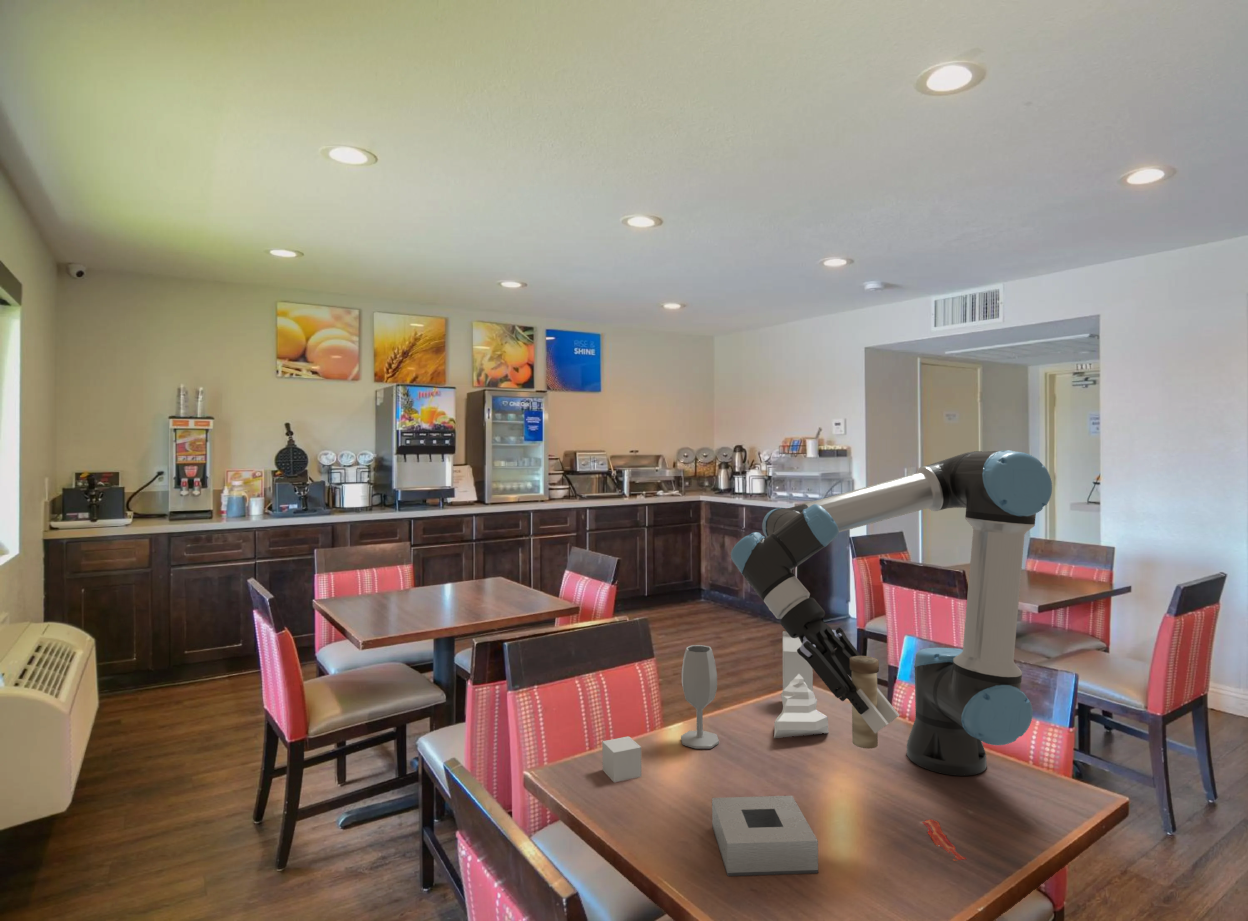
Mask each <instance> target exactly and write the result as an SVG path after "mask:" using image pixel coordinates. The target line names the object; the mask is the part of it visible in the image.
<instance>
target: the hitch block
mask: <svg viewBox="0 0 1248 921" xmlns="http://www.w3.org/2000/svg"><path fill="white" fill-rule="evenodd" d="M711 800H712V802H711V812H712V814H711V815H712V817H711V818H712V819H711V820H712V822H711V823H712V824H711V827H712V830H713V833H714V837H715V839H716V843H717V846H718V849H719V852H720V857H721V859H722V862H723V865H724V869H725V872H726V874H727V877H738V876H740V877H741V876H742V877H743V876H773V875H774V876H775V875H799V874H800V875H802V874H803V875H804V874H808V875H809V874H819V841H818V839H817V837H816V835H815V833H814V832H813V829H812V828H811V826H810V824H809V823H808V821H807V819H806V817H805V816H804V813H803V812H802V810H801V808H800V807H799V805H798V803H797V802H796V800H795V798H794V796H793V795H768V796H767V795H766V796H763V795H762V796H761V795H760V796H731V797H730V796H728V797H727V796H726V797H712V798H711Z"/></svg>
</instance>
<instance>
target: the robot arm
mask: <svg viewBox="0 0 1248 921" xmlns="http://www.w3.org/2000/svg"><path fill="white" fill-rule="evenodd" d="M1052 492H1053V483H1052V478H1051V474H1050V473H1049V471H1048V469H1047V467H1046V466H1045V465H1044V464H1043V463H1042V461H1041V460H1039V459H1038V458H1036V457H1035V456H1034V455H1031V454H1030V453H1026V452H1023V451H1022V452H1021V451H1014V450H1011V449H1010V450H991V451H989V450H985V451H981V450H979V451H978V450H976V451H970V452H964V453H961V454H958V455H955V456H952V457H949V458H946V459H943V460H940V461H937V462H934V463H930V464H927V465H924V466H920V467H919V468H918V469H917V471H916V473H913V474H909V475H906V476H902V477H897V478H895V479H890V480H887V481H883V482H880V483H877V484H876V483H875V484H872V485H869V486H866V487H862V488H858V489H854V490H850V491H847V492H843V493H839V494H836V495H835V494H834V495H832V496H829V497H825V498H820V499H817V500H814V501H813V500H812V501H810V502H806V503H803V504H799V505H795V506H791V507H787V508H784V507H779V508H774V509H772V510H770V511H768V512H767V513H766V515H765V516H764V518H763V520H762V525H761V528H762V532H763V534H764V535H762V533H761V532H759V531H758V532H756V531H755V532H752V533H750V534H748V535H745V536H744V537H743V538H741V539H740V540H739V541H737V543H735V545H734V546H733V548H732V549H731V552H730V559H731V561H732V563H733V564H734V565H735V566H736V568H737V570H738V571H739V572H740V574H741V576H743V578H744V579H745V581H747V583H748V584H749V586H751V588H752V589H753V591H754V592H755V593H756V594H757V596H758V597H759V598H760V599H761V600H762V602H764V604H765V605H766V607H767V608H768V610H769V611H770V612H771V613H772V614H773V616H774V617H775V619H777V620H780V622H779V623H780V625H781V626H782V628H783V629H784V630H785V632H787V633H788V634H789V635H790V637H792V638H797V637H799V639H800V641H801V643H802V645H801V646H800V647H799V648H798V649H797V652H798V654H799V655H801V656H802V657H803V658H804V659H805V660H806V661H807V662H808V663H809V664H810V666H811V667H812V668H813V671H814V672H815V673H816V674H817V675H818V677H819V678H820V679H821V680H822V682H823V683H824V684H825V685H826V687H827V688H828V689H829V691H830V692H831V693H832V694H833V695H834V697H835V698H837V699H839V700H840V701H841V702H844V701H846V700H848V701H849V702H850V704H851V706H852V705H853V706H854V708H855V709H856V710H857V711H858V713H859V714H860V715H861V716H862V718H863V719H864V720H865V721H866V723H867V724H868V725H869V726H870V728H871V729H872V730H873V732H874V733H877V732H878V733H879V732H880V730H882V729H883V728H885V727H886V726H888V725H889V724H890V723H891V722H893V721H895V720H896V719H897V718H898V717H899V716H900V714H899V713H898V711H897V710H896V709H895V707H893V705H892V704H891V703H890V701H889V700H888V698H886V696H885V695H884V693H883V692H882V691H881V690H880V689H879V687H877V708H876V707H875V706H874V705H873V703H872V702H871V701H870V700H869V698H868V697H867V696H866V695H865V693H864V692H863V691H862V690H861V689H859V690H858V691H857V688H856V687H855V685H854V684H853V682H852V670H850V657H853V656H862V654H860V653H859V651H858V650H857V649H856V648H855V646H854V645H853V644H852V642H851V641H850V640H849V638H848V637H847V635H846V633H845V632H844V631H845V630H843V629H842V627H837V628H836V629H832V627H831V626H830V625H828V624H827V623H826V622H825V621H824V617H825V615H826V612H825V610H824V609H823V607H822V606H821V605H820V604H819V602H818V601H817V600H816V599H815V598H814V597H810V595H811V592H809V590H808V589H807V587H806V586H804V585H803V583H802V582H801V580H799V579H798V578H797V576H796V575H795V573H793V570H794V569H796V567H798V566H800V565H801V564H803V563H804V562H806V561H807V560H808V559H810V558H811V557H813V555H815V554H817V553H818V552H819V551H821V550H822V549H823V548H825V547H827V546H828V545H829V544H830V543H832V542H833V541H834V540H835V539H836V538H837V537H838V536H839V533H841V532H846V531H849V530H852V529H856V528H860V527H864V526H867V525H871V524H874V523H879V522H882V521H885V520H890V519H893V518H897V517H901V516H905V515H909V514H913V513H915V512H919V511H922V510H923V511H924V510H926V509H929V511H930V510H931V511H932V512H938V511H943V510H946V509H954V508H959V509H961V508H963V509H965V517H964V518H965V520H966V522H968V524H969V525H970V526H971V527H972V538H971V539H972V541H971V549H970V550H971V551H970V562H969V574H968V584H967V585H968V586H967V596H966V597H967V598H966V608H965V609H966V610H965V618H964V620H965V622H964V632H963V646H962V648H955V647H954V648H953V647H927V648H921V649H919V650H917V652H916V653H915V658H914V665H913V668H914V692H915V693H914V695H915V696H914V701H915V702H914V703H915V704H914V705H915V707H914V708H915V709H914V710H915V719H914V721H913V724H912V727H911V730H910V733H909V736H908V740H907V741H906V755H907V758H908V759H909V760H910V761H911V763H913V764H916V765H917V766H919V767H921V768H923V769H926V770H928V771H931V772H934V773H939V774H943V775H944V774H945V775H951V776H961V777H962V776H963V777H964V776H966V777H967V776H973V775H979V774H981V773H983V772H984V771H986V769H987V764H988V762H987V753H986V749H985V748H984V745H983V743H984V744H988V745H991V746H1005V745H1009V744H1012V743H1014V742H1015V741H1017V739H1019V738H1020V737H1022V736H1024V734H1025V733H1026V732H1027V731H1028V730H1029V728H1030V727H1031V724H1032V720H1033V714H1034V713H1033V712H1034V711H1033V704H1032V703H1031V701H1030V699H1029V698H1028V696H1027V695H1026V694H1025V692H1024V691H1022V679H1023V671H1022V670H1021V669H1020V667H1019V666H1018V665H1017V664H1016V663H1015V661H1014V660H1015V650H1016V649H1015V648H1016V638H1017V626H1018V615H1019V602H1020V589H1021V581H1022V567H1023V559H1024V558H1023V557H1024V556H1023V555H1024V547H1025V546H1024V544H1025V535H1026V533H1027V532H1028V531H1030V530H1031V529H1033V528H1034V527H1035V526H1036V525H1035V524H1036V514H1037V513H1040V512H1041V511H1043V508H1044V507H1046V506H1048V505H1047V504H1048V503H1049V501H1050V500H1051V496H1052ZM856 691H857V692H856Z"/></svg>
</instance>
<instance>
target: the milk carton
mask: <svg viewBox="0 0 1248 921" xmlns="http://www.w3.org/2000/svg"><path fill="white" fill-rule="evenodd" d="M801 645H802V643H801V641H800V639H799V637H797V638H792V637H790V635H789V634H788V633H787V632H786V631H782V691H783V690H784V689H785V688H786V687H787V686H788V685H789V684H790V682H791V681H792V680H793V679H794V678H795V677H796V676H797V675H798V674H800V675H801V676H802V677H803V679H804V682H805V683H806V685H807V688H808V689H810V690H811V691H812V692H814V691H813V690H814V684H813V683H814V676H813V675H814V672H813V671H814V669H813V668H812V667H811V666H810V664H809V663H808V662H807V661H806V660H805V659H804V658H803V657H802V656H801V655H799V654H798V652H797V649H798V648H799V647H800V646H801Z"/></svg>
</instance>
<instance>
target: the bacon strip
mask: <svg viewBox="0 0 1248 921" xmlns="http://www.w3.org/2000/svg"><path fill="white" fill-rule="evenodd" d="M921 813H923V812H921ZM921 823H922V824H923V825H924V826H925V827H926V828H927V831H926V833H927V832H928V833H927V834H928V836H930V839H931V840H932V842H933V843H934V845H935V846H936V845H937V846H936V847H937V848H938V847H939V846H938V845H940V847H939V848H941V847H943V848H942V850H945V851H946V852H947V853H948V854H950V855H952V854H953V855H954V858H952V861H955V862H958V861H961V860H967V857H966V856H962V855H961V854H960V853H958V851H956V850H957V848H956V846H955V845H954V844H952V842H951V841H950V840H949V839H948V838H947V837H948V836H947V835H946V834H944V832H943V830H942V827H941V825H940V822H939V821H937V820H934V819H932V818H931V819H925V821H922V822H921ZM928 830H929V831H928Z"/></svg>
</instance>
